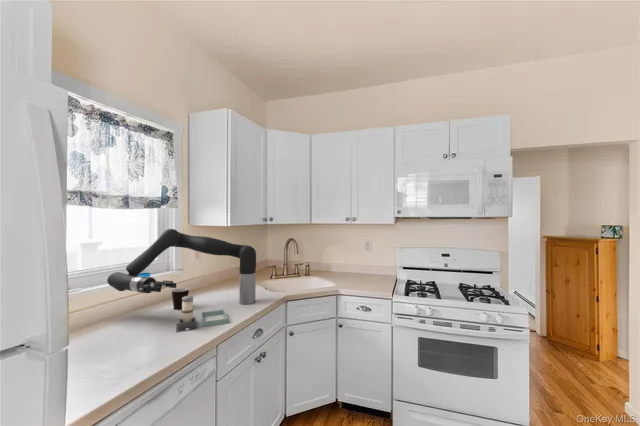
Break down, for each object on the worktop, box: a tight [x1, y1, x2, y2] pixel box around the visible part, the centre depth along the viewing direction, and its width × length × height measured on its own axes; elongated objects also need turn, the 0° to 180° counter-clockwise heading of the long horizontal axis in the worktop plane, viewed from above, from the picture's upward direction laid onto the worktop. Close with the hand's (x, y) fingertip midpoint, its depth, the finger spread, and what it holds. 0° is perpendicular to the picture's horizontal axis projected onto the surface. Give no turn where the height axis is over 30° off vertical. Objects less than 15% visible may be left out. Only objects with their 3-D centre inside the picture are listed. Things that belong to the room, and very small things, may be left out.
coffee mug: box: [171, 287, 190, 311], centre depth 164 cm, size 12×9×10 cm
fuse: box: [181, 295, 194, 323], centre depth 132 cm, size 5×5×13 cm
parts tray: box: [200, 309, 229, 328], centre depth 141 cm, size 15×11×3 cm
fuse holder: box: [175, 316, 199, 333], centre depth 132 cm, size 12×9×4 cm
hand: (168, 287), depth 136 cm, fingers open, 8 cm apart
